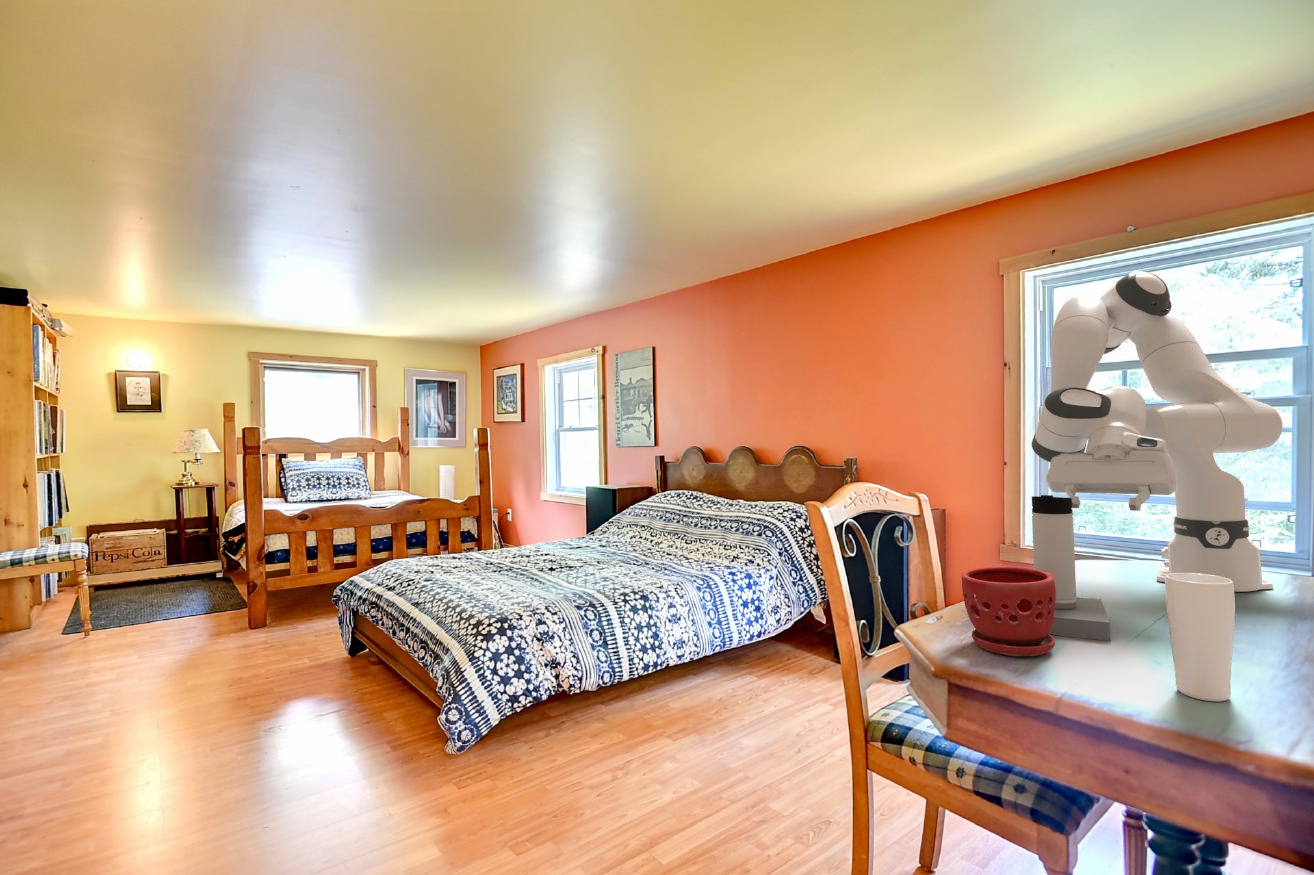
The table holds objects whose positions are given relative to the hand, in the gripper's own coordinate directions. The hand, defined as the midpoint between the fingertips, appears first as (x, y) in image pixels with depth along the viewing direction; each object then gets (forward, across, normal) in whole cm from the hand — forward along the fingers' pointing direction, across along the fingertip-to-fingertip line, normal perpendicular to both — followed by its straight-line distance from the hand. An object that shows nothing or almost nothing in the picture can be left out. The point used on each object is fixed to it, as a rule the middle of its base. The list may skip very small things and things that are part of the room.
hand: (1102, 507), depth 118 cm
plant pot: (+36, -7, -8) cm, 38 cm away
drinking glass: (+39, +17, -10) cm, 44 cm away
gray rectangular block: (+22, -5, +5) cm, 24 cm away
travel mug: (+20, -5, +3) cm, 21 cm away
